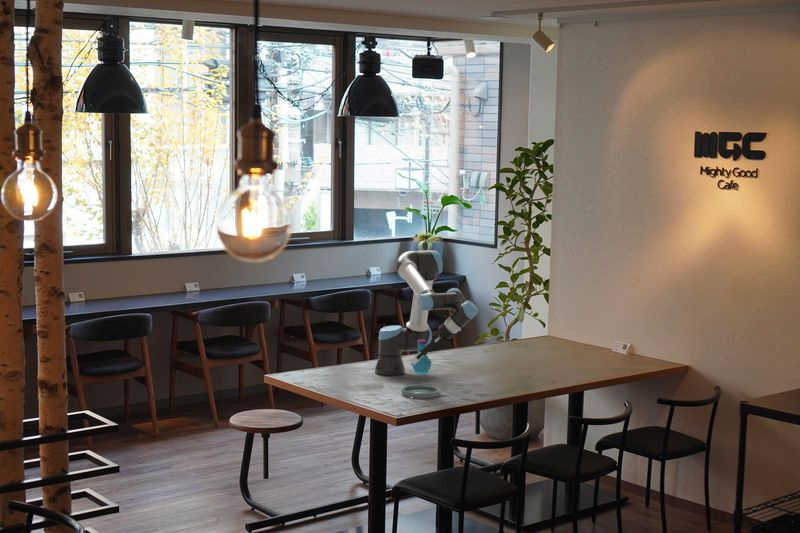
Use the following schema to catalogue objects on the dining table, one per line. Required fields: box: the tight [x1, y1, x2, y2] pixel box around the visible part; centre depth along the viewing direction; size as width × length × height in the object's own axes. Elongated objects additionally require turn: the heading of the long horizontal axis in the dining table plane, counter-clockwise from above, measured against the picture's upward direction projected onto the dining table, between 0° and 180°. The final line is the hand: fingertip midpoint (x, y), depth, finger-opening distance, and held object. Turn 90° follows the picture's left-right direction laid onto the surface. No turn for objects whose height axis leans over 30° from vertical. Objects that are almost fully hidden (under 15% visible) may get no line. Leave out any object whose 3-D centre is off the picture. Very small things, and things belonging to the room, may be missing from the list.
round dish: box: [400, 384, 441, 399], centre depth 475 cm, size 17×17×2 cm
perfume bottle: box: [411, 340, 433, 375], centre depth 473 cm, size 9×9×15 cm
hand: (414, 360), depth 474 cm, fingers closed on perfume bottle, 9 cm apart
